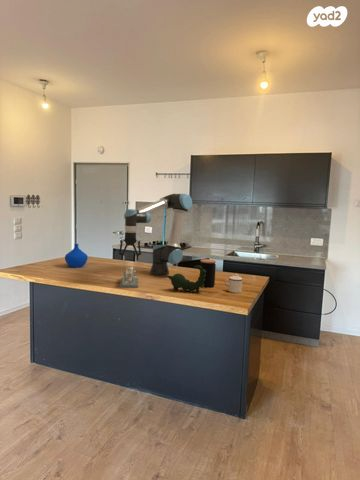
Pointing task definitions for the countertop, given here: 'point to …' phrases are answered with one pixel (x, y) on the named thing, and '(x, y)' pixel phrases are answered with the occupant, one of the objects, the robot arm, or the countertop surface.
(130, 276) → the slat
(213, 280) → the coffee jar
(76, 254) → the vase
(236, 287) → the teacup with lid
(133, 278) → the front end cap
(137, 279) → the base board
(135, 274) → the back end cap
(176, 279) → the toy figurine
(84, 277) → the countertop surface
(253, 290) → the countertop surface
